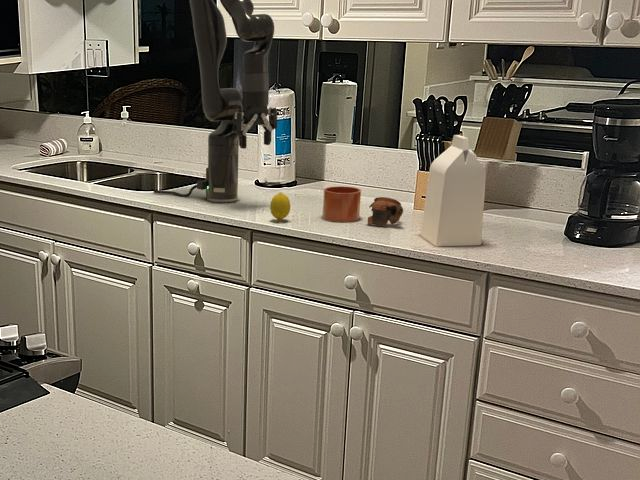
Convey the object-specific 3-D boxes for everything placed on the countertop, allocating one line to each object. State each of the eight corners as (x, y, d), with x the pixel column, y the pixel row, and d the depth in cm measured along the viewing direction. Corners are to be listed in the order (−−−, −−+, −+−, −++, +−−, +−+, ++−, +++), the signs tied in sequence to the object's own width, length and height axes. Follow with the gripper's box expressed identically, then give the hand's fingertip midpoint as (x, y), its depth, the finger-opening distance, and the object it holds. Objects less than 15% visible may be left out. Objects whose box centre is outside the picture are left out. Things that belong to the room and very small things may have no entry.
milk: (420, 234, 245) (429, 133, 235) (462, 233, 245) (474, 133, 236) (436, 246, 234) (446, 140, 224) (480, 245, 234) (493, 139, 225)
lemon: (289, 223, 258) (290, 194, 255) (268, 222, 259) (269, 194, 256) (290, 219, 263) (291, 190, 260) (270, 218, 264) (271, 190, 261)
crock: (314, 217, 265) (316, 189, 262) (340, 212, 271) (341, 185, 268) (341, 223, 257) (343, 194, 255) (366, 218, 263) (368, 190, 260)
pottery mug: (357, 224, 258) (364, 196, 259) (381, 236, 263) (388, 208, 264) (387, 221, 248) (395, 192, 248) (412, 233, 252) (420, 205, 253)
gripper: (267, 85, 272) (266, 142, 278) (227, 90, 266) (227, 147, 272) (283, 87, 266) (282, 145, 272) (242, 92, 260) (242, 151, 266)
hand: (255, 146), depth 272 cm, fingers open, 8 cm apart
